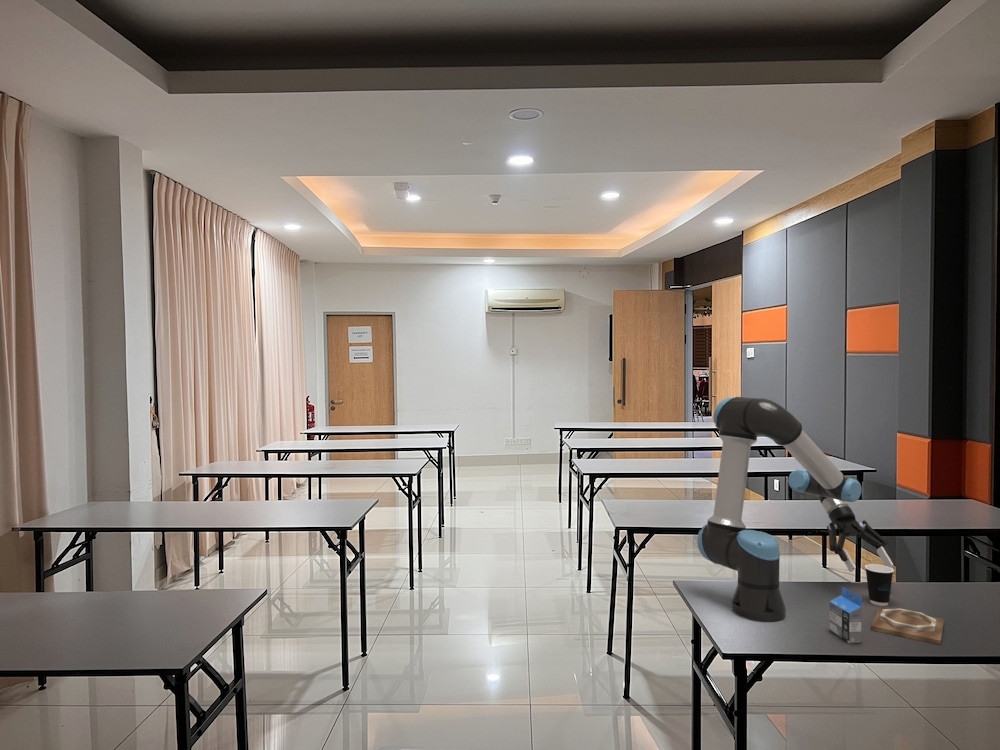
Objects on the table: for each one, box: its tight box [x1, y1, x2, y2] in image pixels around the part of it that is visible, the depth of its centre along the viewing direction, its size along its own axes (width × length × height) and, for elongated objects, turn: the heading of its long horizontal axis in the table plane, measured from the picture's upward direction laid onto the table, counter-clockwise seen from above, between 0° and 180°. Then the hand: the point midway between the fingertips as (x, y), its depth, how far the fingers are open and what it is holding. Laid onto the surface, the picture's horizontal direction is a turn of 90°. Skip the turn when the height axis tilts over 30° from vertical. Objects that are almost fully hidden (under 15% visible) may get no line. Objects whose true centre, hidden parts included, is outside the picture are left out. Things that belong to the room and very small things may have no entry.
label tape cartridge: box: [829, 586, 863, 645], centre depth 175 cm, size 9×4×12 cm, turn 5°
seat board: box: [870, 606, 945, 645], centre depth 181 cm, size 16×18×3 cm
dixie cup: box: [864, 563, 895, 607], centre depth 199 cm, size 8×8×11 cm
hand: (871, 568), depth 204 cm, fingers open, 13 cm apart
